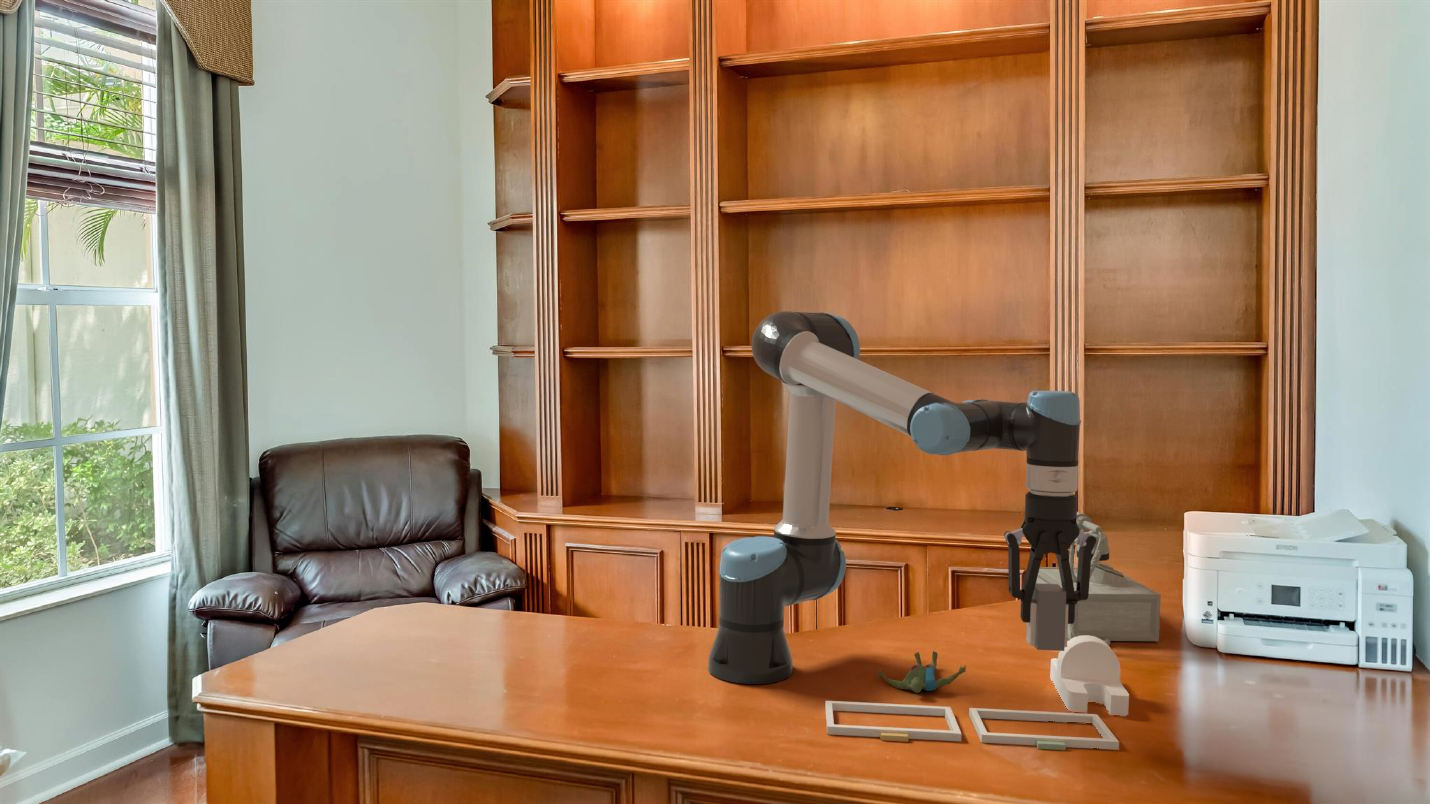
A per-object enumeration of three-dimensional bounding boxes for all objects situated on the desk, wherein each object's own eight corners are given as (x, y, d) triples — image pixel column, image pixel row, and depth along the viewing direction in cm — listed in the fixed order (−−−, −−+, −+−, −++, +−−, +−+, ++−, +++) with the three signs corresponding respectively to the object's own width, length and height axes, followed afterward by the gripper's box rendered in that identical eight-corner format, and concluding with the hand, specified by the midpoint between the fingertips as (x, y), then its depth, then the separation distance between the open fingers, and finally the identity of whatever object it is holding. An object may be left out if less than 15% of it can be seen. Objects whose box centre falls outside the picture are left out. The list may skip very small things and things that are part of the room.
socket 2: (982, 745, 149) (983, 738, 149) (968, 715, 161) (969, 707, 161) (1121, 753, 147) (1121, 745, 147) (1096, 721, 159) (1097, 714, 159)
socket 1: (827, 737, 151) (827, 729, 151) (825, 707, 163) (825, 700, 163) (962, 744, 149) (962, 736, 149) (950, 714, 161) (950, 707, 161)
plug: (1037, 649, 151) (1038, 590, 151) (1028, 638, 157) (1030, 582, 156) (1064, 650, 151) (1066, 591, 150) (1054, 639, 157) (1056, 582, 156)
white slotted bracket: (1067, 713, 163) (1070, 652, 163) (1049, 677, 181) (1051, 621, 180) (1129, 718, 162) (1132, 656, 161) (1104, 681, 180) (1107, 625, 179)
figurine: (969, 648, 182) (962, 675, 165) (971, 669, 182) (965, 699, 165) (883, 652, 187) (868, 679, 170) (886, 673, 187) (871, 703, 170)
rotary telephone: (1174, 653, 196) (1180, 527, 195) (1070, 652, 196) (1076, 525, 194) (1105, 609, 228) (1110, 500, 227) (1016, 607, 228) (1021, 498, 226)
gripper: (999, 494, 149) (994, 648, 150) (1116, 497, 148) (1111, 653, 149) (989, 487, 157) (985, 634, 158) (1101, 490, 155) (1096, 638, 157)
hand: (1046, 643), depth 153 cm, fingers closed on plug, 4 cm apart
